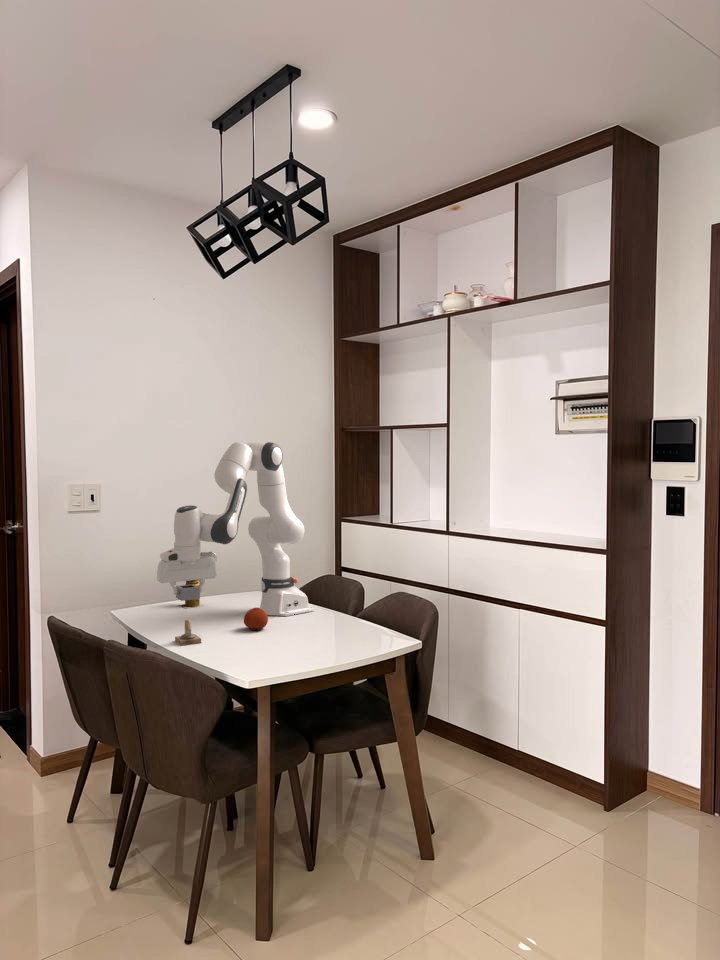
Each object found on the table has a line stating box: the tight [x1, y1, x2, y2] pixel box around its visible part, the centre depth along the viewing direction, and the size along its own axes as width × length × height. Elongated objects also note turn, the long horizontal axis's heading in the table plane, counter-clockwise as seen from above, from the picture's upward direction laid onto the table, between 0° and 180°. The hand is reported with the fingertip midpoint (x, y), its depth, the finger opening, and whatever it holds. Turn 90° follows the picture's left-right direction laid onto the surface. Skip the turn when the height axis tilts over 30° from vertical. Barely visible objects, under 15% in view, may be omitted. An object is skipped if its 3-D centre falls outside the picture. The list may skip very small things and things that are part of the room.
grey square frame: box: [175, 584, 201, 602], centre depth 253 cm, size 6×6×4 cm
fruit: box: [243, 607, 269, 630], centre depth 272 cm, size 9×9×8 cm
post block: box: [174, 619, 202, 647], centre depth 254 cm, size 7×7×8 cm
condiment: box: [177, 580, 204, 609], centre depth 310 cm, size 7×8×12 cm
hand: (187, 593), depth 253 cm, fingers closed on grey square frame, 6 cm apart
